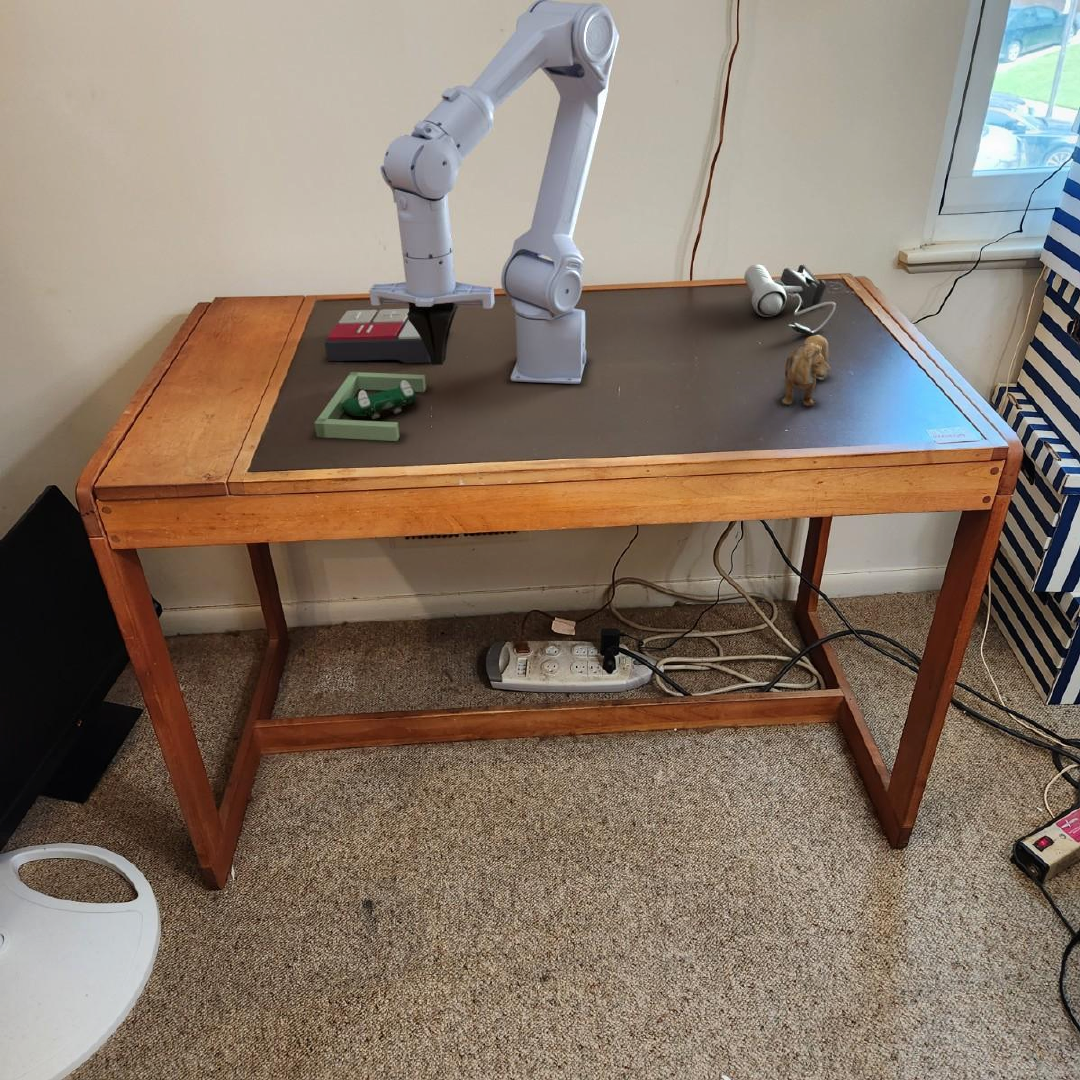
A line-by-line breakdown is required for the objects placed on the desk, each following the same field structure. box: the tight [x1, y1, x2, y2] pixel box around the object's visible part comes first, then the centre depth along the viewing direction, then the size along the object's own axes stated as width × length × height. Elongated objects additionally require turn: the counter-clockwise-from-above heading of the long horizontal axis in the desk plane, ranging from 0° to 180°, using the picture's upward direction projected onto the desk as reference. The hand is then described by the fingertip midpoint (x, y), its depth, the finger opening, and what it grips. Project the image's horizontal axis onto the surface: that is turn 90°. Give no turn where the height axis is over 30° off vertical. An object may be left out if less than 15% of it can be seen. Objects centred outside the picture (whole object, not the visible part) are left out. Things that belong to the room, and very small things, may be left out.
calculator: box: [324, 308, 431, 364], centre depth 131 cm, size 11×4×15 cm
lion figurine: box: [781, 334, 832, 407], centre depth 114 cm, size 15×5×9 cm, turn 163°
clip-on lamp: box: [743, 263, 837, 336], centre depth 136 cm, size 12×6×18 cm
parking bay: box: [314, 371, 427, 442], centre depth 115 cm, size 10×14×2 cm
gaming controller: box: [342, 380, 417, 420], centre depth 114 cm, size 9×4×6 cm
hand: (438, 361), depth 110 cm, fingers closed
